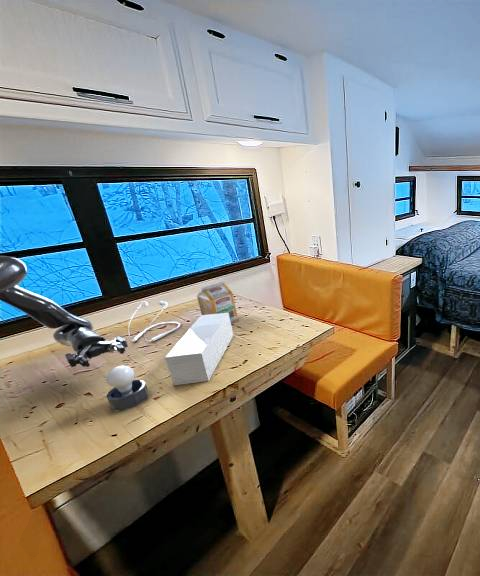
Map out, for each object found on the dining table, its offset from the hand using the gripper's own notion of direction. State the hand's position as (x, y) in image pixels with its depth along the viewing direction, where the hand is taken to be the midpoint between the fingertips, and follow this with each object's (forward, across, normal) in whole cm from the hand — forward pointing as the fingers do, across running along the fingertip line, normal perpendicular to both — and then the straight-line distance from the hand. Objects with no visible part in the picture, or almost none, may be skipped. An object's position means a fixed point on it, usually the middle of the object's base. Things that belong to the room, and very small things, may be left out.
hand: (105, 357), depth 95 cm
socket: (+10, 0, +12) cm, 16 cm away
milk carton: (-18, +45, +12) cm, 50 cm away
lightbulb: (+10, 0, +11) cm, 15 cm away
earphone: (-32, +24, +12) cm, 42 cm away
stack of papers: (+7, +26, +12) cm, 29 cm away
